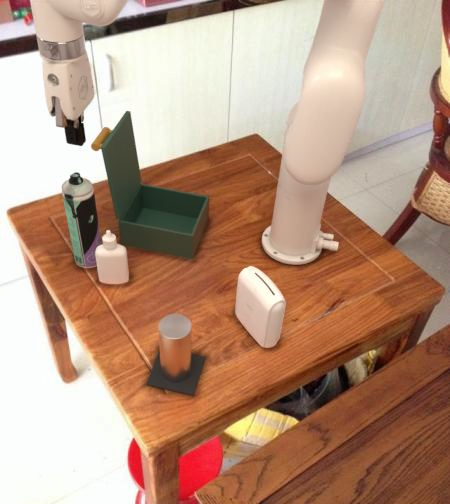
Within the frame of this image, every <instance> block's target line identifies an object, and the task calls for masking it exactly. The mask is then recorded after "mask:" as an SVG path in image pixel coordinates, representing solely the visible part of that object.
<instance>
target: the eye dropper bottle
mask: <svg viewBox="0 0 450 504" xmlns="http://www.w3.org/2000/svg"><path fill="white" fill-rule="evenodd" d="M101 242H102V243H101V244H102V245H99V246H98V247H97V248H96V252H95V256H96V263H97V266H96V270H97V275H98V281H99V282H100V283H102V284H107V285H122V284H125V283H128V282H129V281H130V269H129V260H128V252H127V251H128V250H127V248H126V246H125V245H121V243H117V242H118V241H117V236H116V235H115V234H114V233H112V231H111V230H110V229H107V230H106V232H105V234H103V235H102V237H101Z"/></svg>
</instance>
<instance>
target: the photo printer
mask: <svg viewBox="0 0 450 504" xmlns="http://www.w3.org/2000/svg"><path fill="white" fill-rule="evenodd" d="M235 295H236V297H235V305H234V314H235V316H236V318H237V319H238V321H239V322H240V324H241V325H242V326H243V328H244V329H245V330H246V331H247V333H248V334H249V335H250V336H251V337H252V339H254V340H255V342H256V343H257V344H258V345H259V346H260V347H261V348H265V349H269V348H270V349H271V348H273V347H275V346H276V345H277V344H278V341H279V340H281V334H282V329H283V323H284V316H285V313H286V307H287V301H286V299H285V297H284V295H283V293H282V292H281V290H280V289H279V287H278V286H277V285H276V283H275V282H273V280H272V279H271V278H270V277H269V276H268V275H266V273H265V272H263V271H262V270H260V269H259V268H258V267H255V266H253V265H249V266H248V267H244V268H242V270H241V271H240V272H239V274H238V277H237V285H236V294H235Z"/></svg>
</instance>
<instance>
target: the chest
mask: <svg viewBox="0 0 450 504" xmlns="http://www.w3.org/2000/svg"><path fill="white" fill-rule="evenodd" d="M209 215H210V196H208V195H203V194H199V193H193V192H188V191H183V190H177V189H172V188H167V187H161V186H156V185H151V184H145V183H141V184H140V185H139V187H138V189H137V191H136V192H135V194H134V196H133V198H132V199H131V201H130V203H129V205H128V206H127V208H126V210H125V212H124V213H123V215H122V217H121V219H120V220H117V221H118V230H119V241H120V245H122V246H124V247H131V248H135V249H140V250H145V251H150V252H154V253H161V254H165V255H170V256H175V257H179V258H184V259H189V260H193V259H194V257H195V253H196V251H197V249H198V246H199V245H200V242H201V239H202V236H203V234H204V231H205V229H206V226H207V224H208V223H209Z"/></svg>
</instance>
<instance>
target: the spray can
mask: <svg viewBox="0 0 450 504" xmlns="http://www.w3.org/2000/svg"><path fill="white" fill-rule="evenodd" d="M61 196H62V201H63V207H64V209H65V210H64V211H65V215H66V221H67V227H68V231H69V236H70V242H71V247H72V253H73V258H74V263H75V264H76V265H77V266H78V267H81V268H84V269H92V268H97V263H96V256H95V252H96V248H97V247H98V246H99V245H102V244H103V243H102V237H101V230H100V224H99V217H98V210H97V203H96V202H97V201H96V195H95V189H94V185H93V183H92V181H91V180H89V179H88V178H85V177H82V176H81V174H80V172H78V171H77V172H76V171H75V172H73V173H72V174H70V175H69V179H66V180H64V182H63V183H62V185H61Z"/></svg>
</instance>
